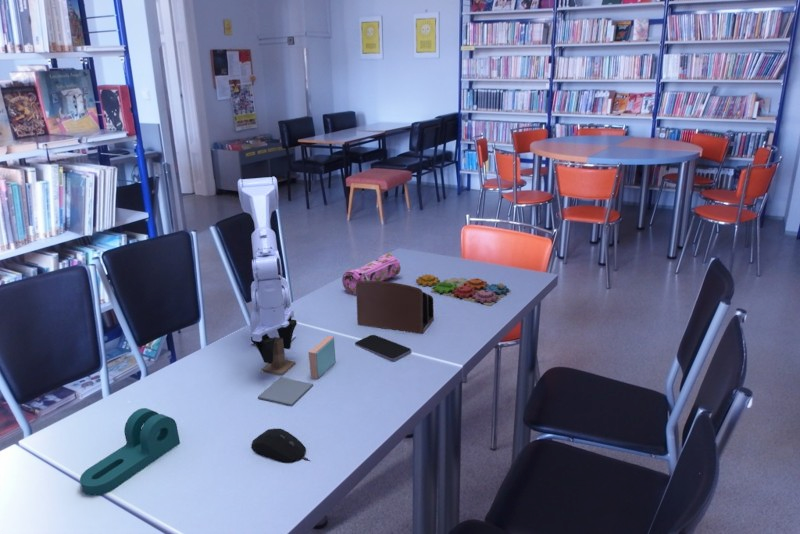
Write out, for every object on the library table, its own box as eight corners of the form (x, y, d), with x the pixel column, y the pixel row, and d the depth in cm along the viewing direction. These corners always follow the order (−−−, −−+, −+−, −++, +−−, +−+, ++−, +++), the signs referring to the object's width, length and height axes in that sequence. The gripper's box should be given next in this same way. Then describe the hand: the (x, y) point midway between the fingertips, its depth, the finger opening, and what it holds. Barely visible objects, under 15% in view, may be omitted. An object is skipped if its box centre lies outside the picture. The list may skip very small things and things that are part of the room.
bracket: (157, 434, 120) (150, 401, 117) (180, 444, 116) (173, 410, 114) (74, 489, 105) (64, 452, 102) (97, 501, 102) (88, 464, 99)
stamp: (261, 371, 142) (258, 343, 140) (275, 360, 148) (272, 332, 145) (282, 376, 140) (279, 347, 138) (295, 364, 145) (292, 336, 143)
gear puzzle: (406, 288, 192) (405, 277, 190) (432, 274, 204) (432, 263, 203) (491, 308, 174) (491, 296, 173) (514, 291, 187) (514, 279, 185)
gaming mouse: (304, 474, 107) (302, 456, 106) (245, 450, 114) (242, 433, 113) (325, 455, 112) (323, 438, 111) (267, 433, 119) (265, 417, 118)
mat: (257, 398, 131) (257, 396, 131) (280, 379, 139) (280, 377, 138) (291, 406, 127) (291, 404, 127) (313, 385, 135) (312, 383, 135)
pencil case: (362, 299, 184) (360, 273, 180) (340, 293, 189) (338, 267, 186) (403, 278, 199) (402, 254, 196) (382, 273, 205) (381, 249, 202)
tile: (311, 378, 139) (308, 351, 136) (329, 360, 147) (327, 335, 144) (318, 379, 138) (315, 353, 136) (336, 361, 146) (334, 336, 143)
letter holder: (422, 335, 159) (421, 287, 154) (357, 325, 166) (354, 279, 161) (434, 320, 167) (433, 274, 163) (371, 311, 174) (368, 267, 170)
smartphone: (373, 334, 159) (412, 349, 149) (373, 337, 160) (413, 353, 149) (352, 343, 154) (392, 359, 144) (353, 347, 155) (393, 363, 144)
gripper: (267, 318, 130) (274, 372, 135) (302, 295, 143) (307, 344, 147) (241, 314, 133) (249, 366, 138) (277, 291, 145) (283, 340, 150)
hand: (277, 355), depth 143 cm, fingers open, 7 cm apart
